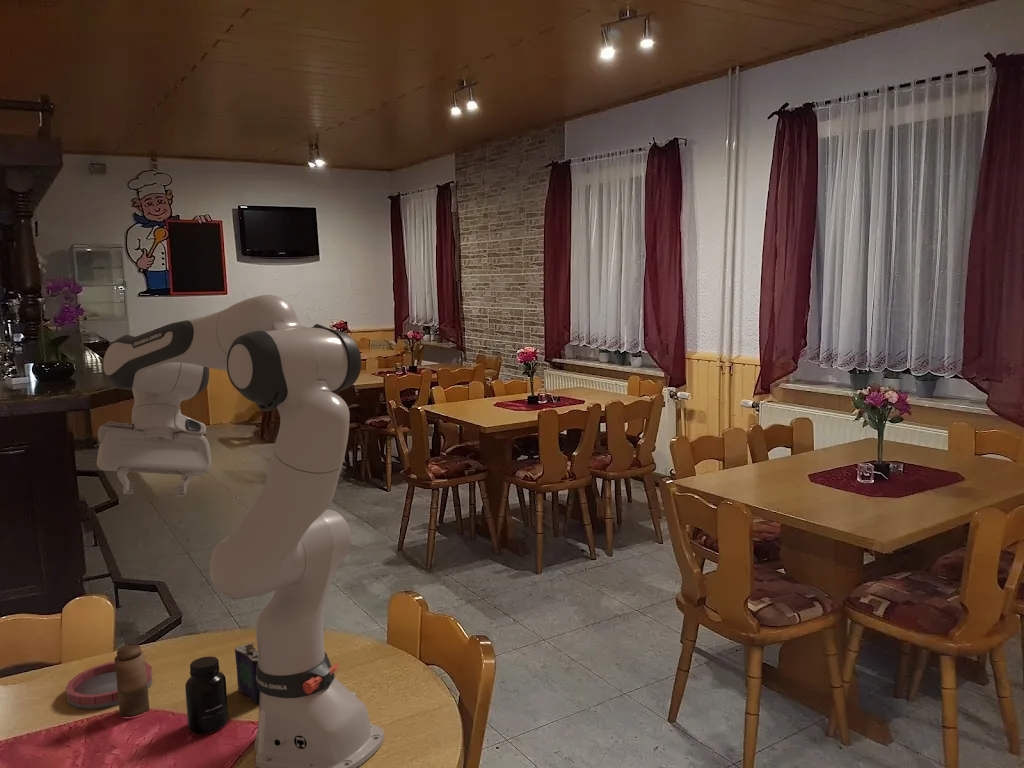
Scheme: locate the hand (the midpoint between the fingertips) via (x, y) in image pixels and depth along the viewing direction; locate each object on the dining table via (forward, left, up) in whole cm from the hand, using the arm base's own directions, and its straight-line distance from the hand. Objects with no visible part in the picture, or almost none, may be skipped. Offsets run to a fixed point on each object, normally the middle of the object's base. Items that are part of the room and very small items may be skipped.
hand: (155, 494), depth 147 cm
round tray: (+14, +3, -40) cm, 43 cm away
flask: (-15, -6, -41) cm, 44 cm away
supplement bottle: (-15, +5, -41) cm, 43 cm away
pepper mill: (+2, +7, -40) cm, 41 cm away
